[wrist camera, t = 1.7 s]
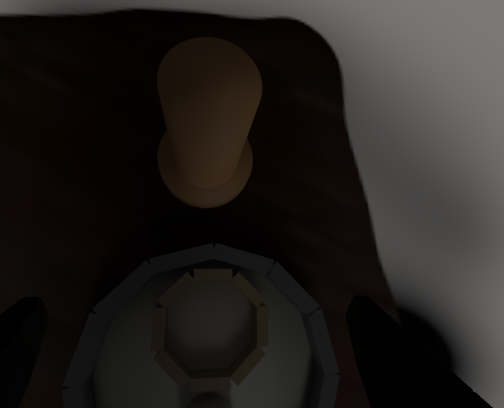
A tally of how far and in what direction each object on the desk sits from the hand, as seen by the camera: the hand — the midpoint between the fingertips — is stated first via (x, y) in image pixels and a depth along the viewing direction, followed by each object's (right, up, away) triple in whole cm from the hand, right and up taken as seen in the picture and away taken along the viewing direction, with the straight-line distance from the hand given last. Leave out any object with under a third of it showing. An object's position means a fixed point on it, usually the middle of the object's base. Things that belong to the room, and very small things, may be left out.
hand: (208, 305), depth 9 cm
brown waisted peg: (-2, +5, +15) cm, 16 cm away
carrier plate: (-2, -8, +12) cm, 15 cm away
